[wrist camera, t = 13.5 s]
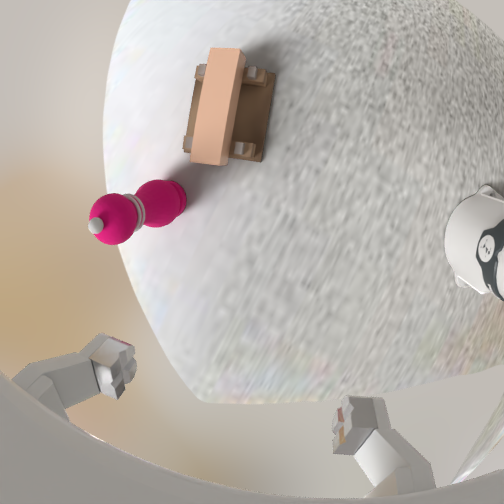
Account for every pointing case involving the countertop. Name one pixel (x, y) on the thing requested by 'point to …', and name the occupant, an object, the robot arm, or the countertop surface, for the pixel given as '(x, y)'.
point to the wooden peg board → (241, 113)
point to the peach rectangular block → (217, 106)
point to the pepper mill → (136, 210)
